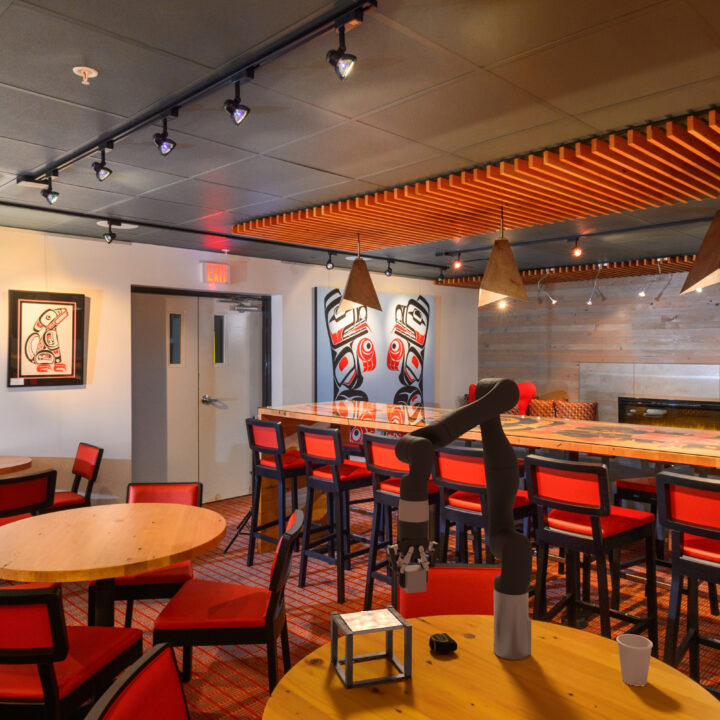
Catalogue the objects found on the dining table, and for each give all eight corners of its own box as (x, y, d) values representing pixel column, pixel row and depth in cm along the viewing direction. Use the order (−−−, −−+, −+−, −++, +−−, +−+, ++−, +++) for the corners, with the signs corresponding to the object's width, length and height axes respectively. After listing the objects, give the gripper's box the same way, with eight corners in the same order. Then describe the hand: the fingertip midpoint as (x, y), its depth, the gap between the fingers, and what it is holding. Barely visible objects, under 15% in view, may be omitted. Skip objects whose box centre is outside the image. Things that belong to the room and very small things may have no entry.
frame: (390, 653, 171) (391, 604, 172) (411, 678, 158) (412, 625, 158) (330, 662, 166) (330, 612, 166) (346, 689, 152) (347, 634, 152)
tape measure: (458, 654, 171) (458, 640, 171) (435, 658, 169) (435, 643, 169) (447, 644, 178) (447, 630, 178) (425, 647, 176) (425, 633, 176)
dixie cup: (616, 685, 155) (617, 644, 155) (615, 670, 163) (615, 631, 163) (654, 692, 152) (654, 650, 152) (651, 676, 160) (651, 636, 160)
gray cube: (417, 584, 159) (417, 564, 159) (426, 591, 154) (426, 570, 154) (399, 586, 157) (399, 566, 157) (407, 593, 153) (407, 572, 153)
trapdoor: (385, 611, 170) (385, 607, 170) (402, 628, 159) (402, 624, 159) (338, 617, 166) (339, 613, 166) (352, 635, 155) (352, 631, 155)
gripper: (432, 512, 162) (431, 578, 162) (381, 515, 157) (379, 584, 157) (446, 518, 155) (445, 588, 155) (392, 522, 150) (391, 594, 150)
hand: (412, 585), depth 156 cm, fingers closed on gray cube, 5 cm apart
